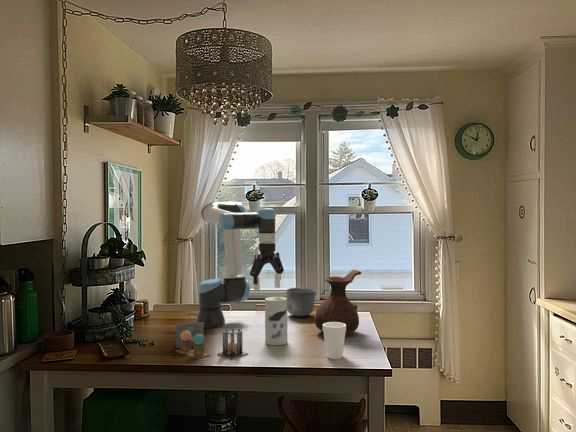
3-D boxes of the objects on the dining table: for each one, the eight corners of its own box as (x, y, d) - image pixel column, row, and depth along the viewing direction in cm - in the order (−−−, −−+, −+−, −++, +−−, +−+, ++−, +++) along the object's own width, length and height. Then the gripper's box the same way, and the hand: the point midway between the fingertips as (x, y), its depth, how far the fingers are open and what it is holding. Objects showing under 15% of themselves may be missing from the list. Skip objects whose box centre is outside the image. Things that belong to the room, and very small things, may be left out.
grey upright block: (176, 344, 213) (176, 322, 213) (203, 342, 216) (203, 320, 216) (176, 347, 209) (175, 325, 208) (204, 345, 211) (203, 323, 211)
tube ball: (224, 353, 198) (224, 342, 198) (233, 351, 201) (233, 340, 201) (231, 355, 195) (231, 344, 195) (240, 353, 198) (240, 342, 198)
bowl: (323, 315, 270) (322, 288, 270) (307, 321, 256) (307, 293, 255) (296, 311, 280) (296, 286, 280) (279, 317, 265) (279, 290, 265)
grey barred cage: (217, 355, 198) (216, 330, 198) (233, 350, 204) (233, 326, 204) (231, 359, 192) (231, 334, 191) (248, 354, 198) (247, 330, 198)
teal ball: (190, 345, 197) (190, 334, 197) (200, 342, 200) (199, 331, 200) (197, 347, 194) (197, 336, 194) (206, 344, 197) (206, 333, 197)
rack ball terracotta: (178, 341, 203) (178, 330, 203) (187, 339, 206) (187, 328, 206) (184, 343, 200) (184, 332, 200) (193, 341, 203) (193, 330, 203)
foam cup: (321, 353, 199) (321, 322, 199) (343, 352, 200) (343, 321, 200) (325, 360, 189) (324, 327, 189) (348, 359, 190) (347, 327, 190)
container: (271, 346, 209) (270, 301, 209) (261, 341, 218) (261, 297, 217) (291, 343, 213) (291, 299, 213) (281, 338, 222) (281, 295, 222)
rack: (175, 351, 203) (175, 340, 203) (187, 348, 208) (187, 337, 208) (198, 359, 192) (198, 347, 192) (210, 355, 197) (209, 344, 197)
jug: (356, 341, 217) (355, 275, 217) (310, 337, 224) (309, 273, 223) (363, 329, 238) (362, 269, 238) (320, 326, 244) (320, 268, 244)
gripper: (253, 244, 204) (254, 294, 204) (291, 241, 223) (291, 286, 223) (241, 243, 209) (241, 292, 209) (279, 240, 228) (279, 285, 228)
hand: (267, 289), depth 216 cm, fingers open, 13 cm apart
